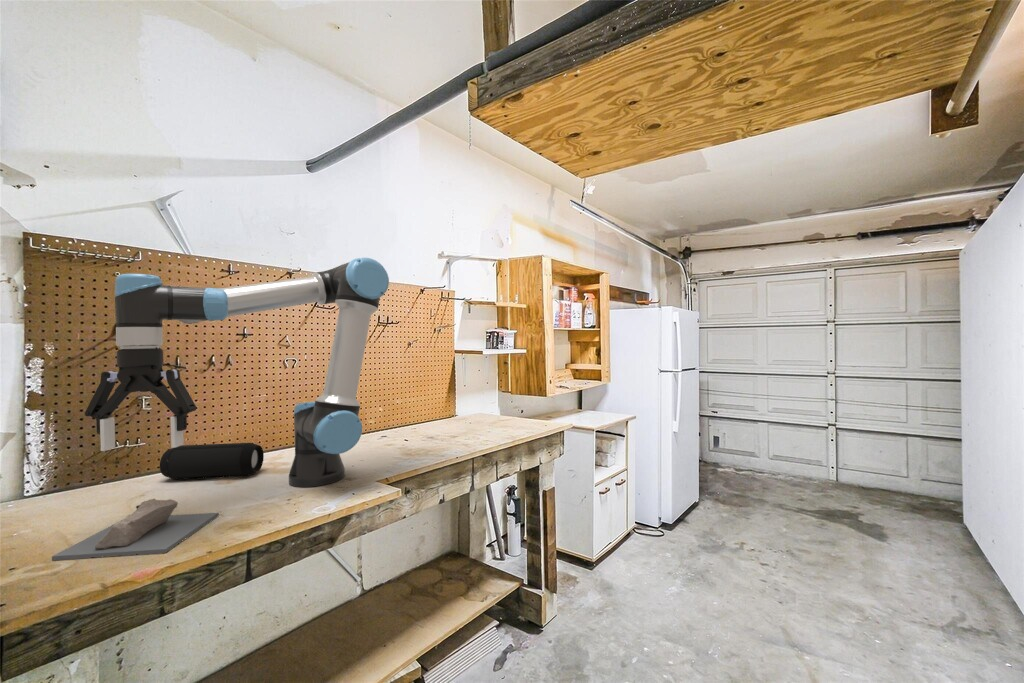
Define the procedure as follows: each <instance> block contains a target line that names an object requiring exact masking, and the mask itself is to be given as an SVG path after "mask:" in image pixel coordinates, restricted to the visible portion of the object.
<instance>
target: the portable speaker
mask: <svg viewBox="0 0 1024 683" xmlns="http://www.w3.org/2000/svg"><path fill="white" fill-rule="evenodd" d="M264 458H265V457H264V449H263V448H262V446H261V445H259V444H256V443H253V442H231V443H212V444H210V443H207V444H185V445H181V446H178V447H176V448H169V449H167V450H165V452H164V453H163V454H162V455H161V458H160V462H159V470H160V473H161V474H162V476H163V477H165V478H169V479H172V480H176V481H177V480H178V481H179V480H197V478H202V479H216V478H217V479H220V477H223V478H238V477H239V478H241V476H242V477H249V476H252V475H253V474H257V473H258V472H259V471H260V470H261V468H262V466H263V464H264Z"/></svg>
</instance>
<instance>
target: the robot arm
mask: <svg viewBox="0 0 1024 683" xmlns="http://www.w3.org/2000/svg"><path fill="white" fill-rule="evenodd" d="M114 282H115V284H114V285H115V286H114V310H115V346H116V347H119V349H117V350H116V366H117V367H118V371H116V370H112V371H109V370H108V371H103V372H101V373H100V382H99V384H98V386H97V388H96V390H95V392H94V394H93V396H92V398H91V400H90V401H89V404H88V406H87V407H86V410H85V411H84V416H85V417H88V418H89V417H91V418H93V419H95V420H96V422H95V423H96V434H97V435H100V436H99V437H100V452H105V451H109V450H112V449H116V432H115V431H116V429H115V427H116V426H115V424H116V423H115V416H114V417H112V416H113V415H112V414H113V413H114V412H115V411H116V410H117V408H118V407H119V406H120V405H121V404H122V402H124V400H125V399H126V398H127V397H128V395H130V394H131V393H136V392H137V393H138V392H141V393H145V392H146V393H147V392H150V393H151V394H154V395H155V396H156V397H157V398H158V399H159V400H160V401H161V402H162V403H163V405H164V406H166V408H167V409H169V410H170V411H171V413H172V414H173V416H170V445H171V448H176V447H178V446H181V445H184V431H185V430H187V428H188V418H187V417H188V414H190V413H192V412H195V411H197V405H196V403H195V402H194V400H193V398H192V396H191V395H190V393H189V392H188V390H187V388H186V386H185V384H184V383H183V381H182V379H181V373H180V370H179V369H177V368H175V369H174V368H173V369H167V370H166V371H165V370H164V369H163V366H164V350H163V348H160V346H163V344H164V342H163V340H164V339H163V338H164V337H163V334H164V332H163V321H179V322H181V323H184V324H188V325H193V324H197V323H201V322H206V321H209V322H213V321H224V320H226V318H228V317H235V316H242V315H247V314H253V313H259V312H267V311H271V310H276V309H283V308H288V307H289V308H290V307H295V306H300V305H307V304H312V303H317V304H319V305H321V306H322V305H327V304H328V305H329V304H336V305H337V307H338V315H337V319H336V321H337V322H336V326H335V330H334V335H333V340H332V346H331V351H330V356H329V360H328V361H329V362H328V366H327V370H326V376H325V381H324V386H323V392H322V394H321V395H320V396H318V397H317V398H315V401H307V402H300V403H296V404H295V405H294V409H293V410H294V411H293V422H294V423H293V426H294V429H293V430H294V457H293V461H292V463H291V464H292V465H291V468H290V470H289V472H288V473H289V474H288V484H289V485H290V486H293V487H298V488H308V487H309V488H311V487H318V486H323V485H324V486H325V485H330V484H333V483H335V482H338V481H340V480H343V478H344V477H345V476H346V468H345V465H344V462H343V460H342V457H341V454H344V453H347V452H348V451H350V450H351V449H353V448H354V447H355V446H356V445H357V444H358V443H359V441H360V439H361V437H362V433H363V425H362V421H361V418H360V417H359V415H360V409H361V404H360V402H359V400H357V393H358V392H357V391H358V389H359V383H360V377H361V371H362V365H363V361H364V355H365V350H366V344H367V338H368V334H369V329H370V323H371V317H372V315H373V314H375V313H376V312H377V311H378V310H379V305H380V300H381V298H382V297H383V296H384V295H385V294H386V292H387V291H388V288H389V285H390V278H389V274H388V272H387V270H386V269H385V267H384V266H383V264H381V263H380V261H378V260H376V259H373V258H370V257H357V258H354V259H352V260H351V261H349V262H346V263H343V264H340V265H338V266H335V267H333V268H330V269H327V270H323V271H316V272H313V273H312V274H311V275H310V276H305V277H298V278H291V279H290V278H289V279H283V280H276V281H275V280H274V281H268V282H267V281H266V282H261V283H253V284H252V283H251V284H243V285H238V286H228V287H222V288H214V287H213V288H212V287H209V286H207V287H196V286H195V287H194V286H193V287H192V286H191V287H190V286H171V285H166V284H164V285H163V282H162V278H161V277H159V276H158V275H153V274H145V273H121V274H120V275H117V277H116V278H115V281H114ZM163 379H164V380H165V381H166V382H167V385H168V386H169V388H170V389H171V391H172V393H171V391H170V390H169V389H168V387H167V385H165V383H164V382H163ZM117 381H119V382H120V383H119V385H118V386H117V387H116V388H115V385H116V382H117ZM114 388H115V389H114ZM113 389H114V392H113ZM112 392H113V393H112ZM111 393H112V395H111ZM171 448H170V449H171Z"/></svg>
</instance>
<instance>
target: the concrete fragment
mask: <svg viewBox="0 0 1024 683" xmlns="http://www.w3.org/2000/svg"><path fill="white" fill-rule="evenodd" d="M178 503H179V502H178V501H177V500H174V499H171V498H169V499H166V500H165V499H156V498H151V499H147V500H144V501H141V502H140V504H139V505H136V506H135V510H134V511H133V512H132V513H131V514H128V515H126V516H125V517H124V518H123V519H121V520H122V521H121V520H119V521H116V523H114V526H113V527H111V529H110V531H109V532H108V533H107V534H106V535H105V536H104V537H103V538H102V539H101V540H100V541H99V542H98V543H97V544H96V545H95V548H100V549H101V548H103V549H106V548H110V547H113V546H128V545H129V544H130V543H132V542H134V541H136V540H138V539H139V538H140V537H141V536H142V535H143V534H145V533H146V532H147V531H150V530H151V529H152V528H155V527H156V526H158V525H160V524H163V523H164V522H166V521H167V520H168V518H169V516H170V515H172V513H173V511H174V510H175V509H176V508H177V507H178Z"/></svg>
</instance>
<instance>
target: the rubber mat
mask: <svg viewBox="0 0 1024 683" xmlns="http://www.w3.org/2000/svg"><path fill="white" fill-rule="evenodd" d="M218 515H219V516H220V512H202V513H186V514H183V513H182V514H171V515H170V516H169V518H168V520H167V521H166V522H164V523H163V524H160V525H158V526H156V527H155V528H152V529H151V530H150V531H147V532H146V533H145V534H143V535H142V536H141V537H140V538H139V539H138V540H136V541H134V542H132V543H130V544H129V545H128V546H113V547H110V548H106V549H103V548H101V549H100V548H95V545H96V544H97V543H98V542H99V541H100V540H101V539H102V538H103V537H104V536H105V535H106V534H107V533H108V532H109V531H110V529H111V527H113V526H114V524H115V523H114V524H111V525H110V526H108V527H106V528H104V529H102V530H100V531H98V532H97V533H95V534H92V535H90V536H88V537H86V538H85V539H82V540H81V541H79V542H76V543H74V544H73V545H71V546H69V547H67V548H65V549H64V550H61V551H59V552H58V553H56V554H54V555H52V556H51V561H52V562H53V561H65V560H66V561H68V560H69V561H70V560H80V559H84V560H85V559H92V558H91V557H100V558H103V557H102V556H115V557H119V556H118V555H130V556H142V555H143V554H145V555H156V554H157V555H159V554H160V553H161V554H167V553H168V552H170V551H171V550H172V549H174V548H175V547H176V545H177V544H178V543H180V542H181V541H182V540H184V539H185V538H187V537H188V538H190V537H191V536H192V535H193V533H194V532H195V533H197V532H198V531H200V530H201V529H202V528H204V527H205V526H207V525H208V524H209V523H211V522H212V521H214V520H215V519H216V518H215V517H217V516H218ZM219 516H218V517H219ZM218 517H217V518H218ZM214 518H215V519H214ZM213 519H214V520H213ZM122 520H123V519H121V520H120V521H122ZM211 520H212V521H211ZM210 521H211V522H210ZM207 523H208V524H207ZM206 524H207V525H206ZM204 525H205V526H204ZM203 526H204V527H203ZM201 527H202V528H201ZM200 528H201V529H200ZM197 530H198V531H197ZM196 531H197V532H196ZM195 533H194V534H195ZM191 534H192V535H191ZM190 535H191V536H190ZM189 536H190V537H189ZM188 538H187V539H188ZM185 540H186V539H185ZM185 540H184V541H185ZM182 542H183V541H182ZM182 542H181V543H182ZM181 543H180V544H181ZM178 545H179V544H178ZM178 545H177V546H178ZM174 546H175V547H174ZM173 547H174V548H173ZM170 549H171V550H170ZM169 550H170V551H169ZM167 551H168V552H167ZM166 552H167V553H166ZM136 554H138V555H136ZM139 554H141V555H139ZM143 556H144V555H143Z"/></svg>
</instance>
